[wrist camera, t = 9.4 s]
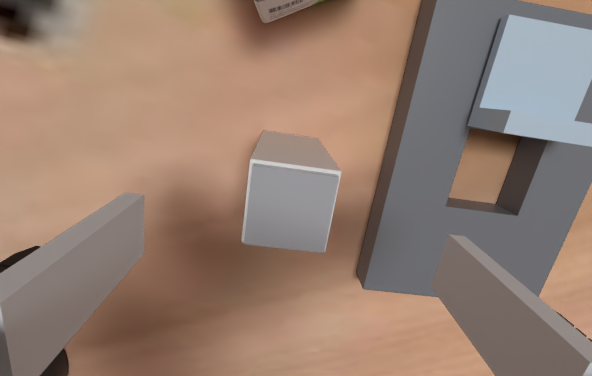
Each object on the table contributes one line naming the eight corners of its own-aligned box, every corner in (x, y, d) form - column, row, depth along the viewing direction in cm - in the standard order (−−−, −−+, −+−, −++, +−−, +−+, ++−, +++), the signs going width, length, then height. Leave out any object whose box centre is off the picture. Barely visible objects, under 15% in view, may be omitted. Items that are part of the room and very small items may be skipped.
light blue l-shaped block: (467, 125, 25) (503, 132, 21) (501, 16, 23) (549, 1, 18) (557, 139, 26) (609, 149, 22) (600, 35, 23) (667, 24, 19)
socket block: (356, 271, 33) (363, 289, 30) (422, -3, 25) (440, -15, 22) (512, 289, 34) (533, 307, 31) (621, 35, 26) (662, 28, 24)
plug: (257, 182, 29) (239, 246, 17) (264, 129, 28) (249, 161, 16) (309, 189, 30) (326, 256, 18) (318, 137, 28) (343, 174, 16)
